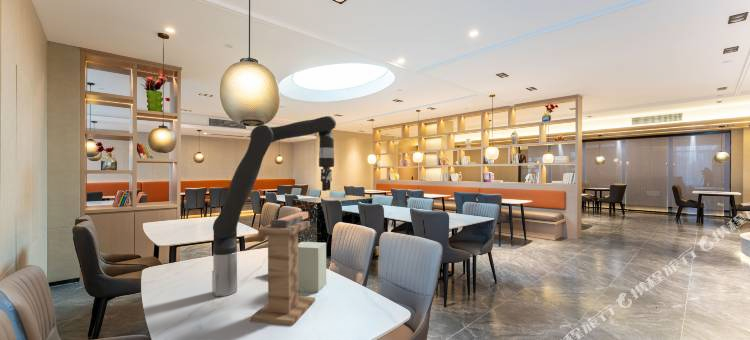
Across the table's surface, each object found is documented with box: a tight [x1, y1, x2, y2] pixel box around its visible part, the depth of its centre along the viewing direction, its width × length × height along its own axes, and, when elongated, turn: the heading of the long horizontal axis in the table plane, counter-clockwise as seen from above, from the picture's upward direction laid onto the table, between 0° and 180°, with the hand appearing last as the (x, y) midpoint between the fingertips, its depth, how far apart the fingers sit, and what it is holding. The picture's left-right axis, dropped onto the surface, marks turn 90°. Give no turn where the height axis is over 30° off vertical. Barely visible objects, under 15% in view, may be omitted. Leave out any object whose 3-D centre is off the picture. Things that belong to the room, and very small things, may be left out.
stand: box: [249, 216, 316, 326], centre depth 120 cm, size 20×16×34 cm
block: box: [276, 211, 309, 221], centre depth 127 cm, size 22×3×2 cm, turn 169°
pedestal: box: [298, 241, 327, 293], centre depth 143 cm, size 10×12×19 cm
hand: (326, 190), depth 157 cm, fingers open, 8 cm apart
